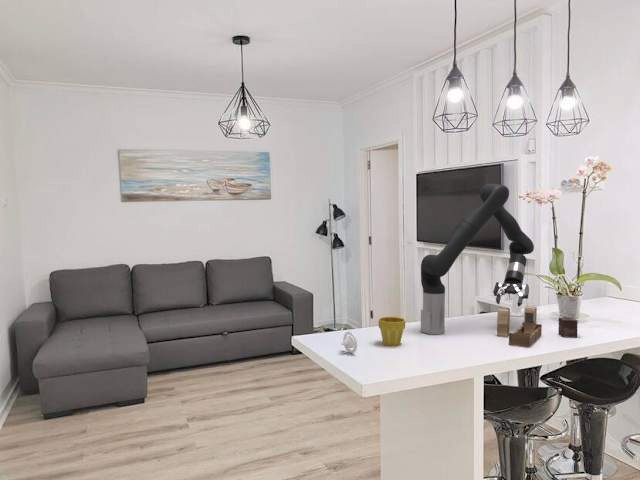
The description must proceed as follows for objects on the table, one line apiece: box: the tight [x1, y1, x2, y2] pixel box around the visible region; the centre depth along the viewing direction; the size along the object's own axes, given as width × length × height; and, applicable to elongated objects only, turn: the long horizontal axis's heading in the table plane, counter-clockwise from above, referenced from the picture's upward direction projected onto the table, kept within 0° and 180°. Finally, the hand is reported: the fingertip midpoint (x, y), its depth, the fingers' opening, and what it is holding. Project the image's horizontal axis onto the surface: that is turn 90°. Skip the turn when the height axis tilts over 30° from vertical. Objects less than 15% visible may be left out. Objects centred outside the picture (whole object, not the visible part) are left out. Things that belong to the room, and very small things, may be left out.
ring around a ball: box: [340, 330, 358, 354], centre depth 187 cm, size 8×6×8 cm
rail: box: [508, 305, 543, 349], centre depth 207 cm, size 24×8×12 cm, turn 147°
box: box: [557, 316, 578, 339], centre depth 214 cm, size 6×6×7 cm
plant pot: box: [378, 316, 406, 347], centre depth 201 cm, size 10×10×10 cm
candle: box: [510, 289, 524, 318], centre depth 255 cm, size 7×7×25 cm
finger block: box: [496, 308, 511, 338], centre depth 214 cm, size 4×4×11 cm
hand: (508, 304), depth 220 cm, fingers open, 8 cm apart
